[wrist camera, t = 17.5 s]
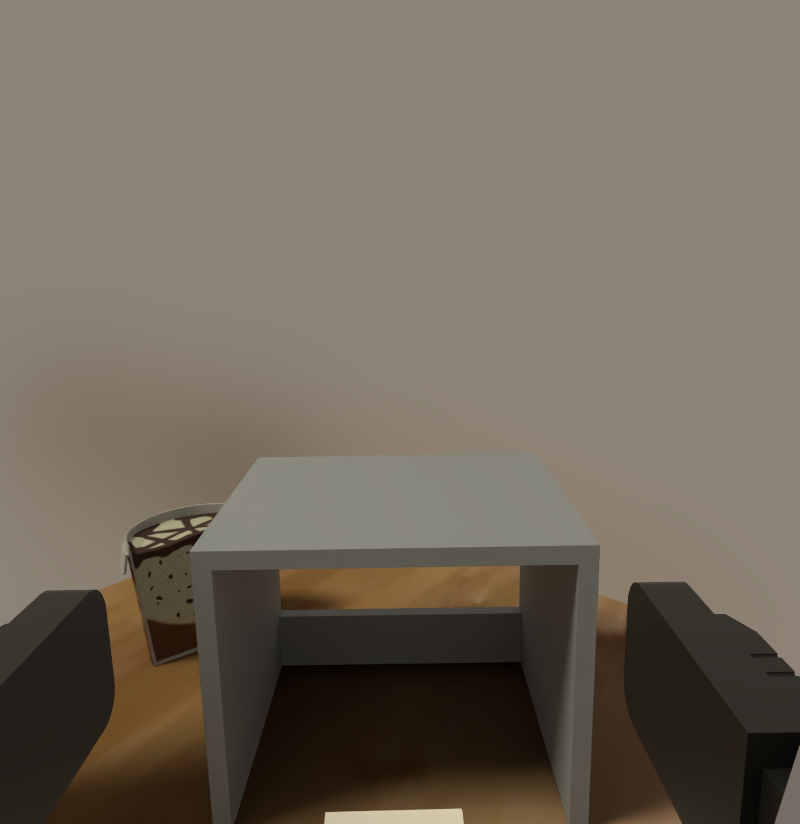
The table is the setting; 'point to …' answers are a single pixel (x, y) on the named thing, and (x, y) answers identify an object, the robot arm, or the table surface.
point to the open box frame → (395, 628)
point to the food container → (166, 577)
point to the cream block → (396, 817)
